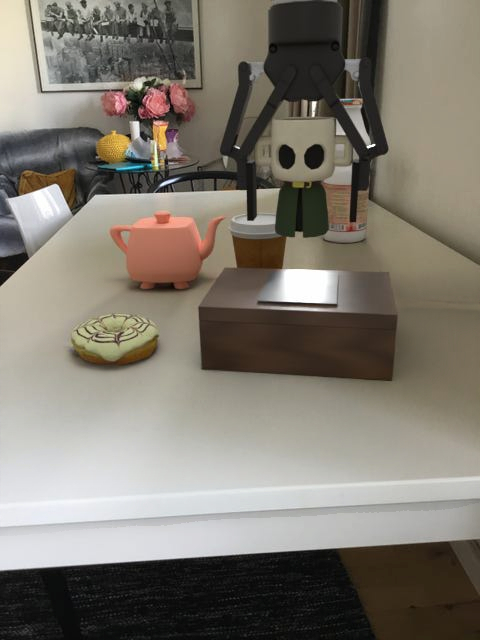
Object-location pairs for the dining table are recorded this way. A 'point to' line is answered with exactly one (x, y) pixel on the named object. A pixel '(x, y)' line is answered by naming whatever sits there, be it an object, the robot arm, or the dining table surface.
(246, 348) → the wooden jewelry box
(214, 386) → the dining table surface
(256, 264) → the disposable coffee cup
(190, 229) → the teapot
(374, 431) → the dining table surface
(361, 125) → the fruit juice
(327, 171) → the character mug
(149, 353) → the decorated donut
